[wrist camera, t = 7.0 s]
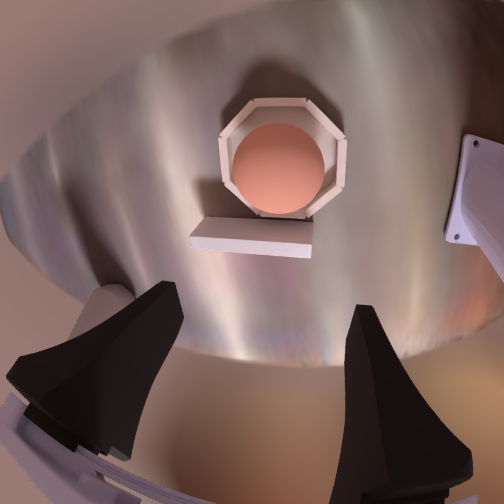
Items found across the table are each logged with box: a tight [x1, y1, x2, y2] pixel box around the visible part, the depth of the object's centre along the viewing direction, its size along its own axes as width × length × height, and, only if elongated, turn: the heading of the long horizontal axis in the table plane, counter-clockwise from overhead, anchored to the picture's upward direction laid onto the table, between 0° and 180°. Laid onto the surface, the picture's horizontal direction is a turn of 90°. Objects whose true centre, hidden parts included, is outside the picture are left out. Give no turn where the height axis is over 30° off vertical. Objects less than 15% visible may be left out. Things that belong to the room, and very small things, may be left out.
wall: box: [189, 217, 313, 258], centre depth 19 cm, size 8×1×3 cm, turn 93°
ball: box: [232, 123, 325, 214], centre depth 15 cm, size 5×5×5 cm
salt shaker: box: [67, 284, 135, 341], centre depth 24 cm, size 6×6×13 cm
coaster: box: [218, 97, 347, 219], centre depth 17 cm, size 8×8×1 cm
